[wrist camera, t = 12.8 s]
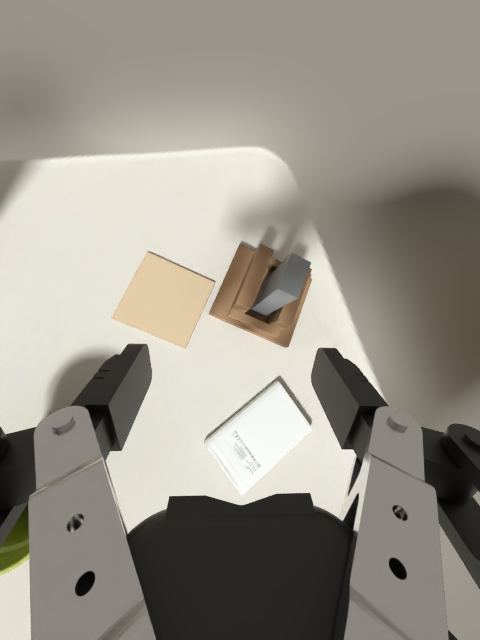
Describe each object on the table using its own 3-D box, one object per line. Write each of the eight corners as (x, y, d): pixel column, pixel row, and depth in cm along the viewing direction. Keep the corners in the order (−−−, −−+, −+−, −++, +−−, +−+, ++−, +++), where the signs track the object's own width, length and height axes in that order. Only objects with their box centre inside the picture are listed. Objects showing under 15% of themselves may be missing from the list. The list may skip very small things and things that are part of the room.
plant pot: (26, 411, 26) (-55, 439, 18) (112, 423, 28) (76, 454, 19) (-6, 501, 24) (-111, 580, 16) (88, 509, 26) (38, 584, 18)
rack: (208, 314, 32) (212, 305, 26) (238, 247, 34) (247, 225, 28) (284, 347, 33) (304, 346, 27) (308, 281, 35) (331, 267, 29)
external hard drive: (308, 426, 33) (240, 490, 30) (274, 379, 33) (203, 439, 30) (313, 429, 31) (242, 497, 28) (279, 381, 31) (204, 443, 28)
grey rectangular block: (251, 309, 32) (278, 288, 22) (261, 284, 33) (291, 252, 22) (265, 315, 32) (298, 298, 22) (274, 290, 33) (311, 262, 23)
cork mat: (112, 318, 29) (111, 318, 29) (147, 252, 31) (147, 251, 31) (185, 348, 30) (185, 348, 30) (214, 283, 33) (214, 282, 32)
